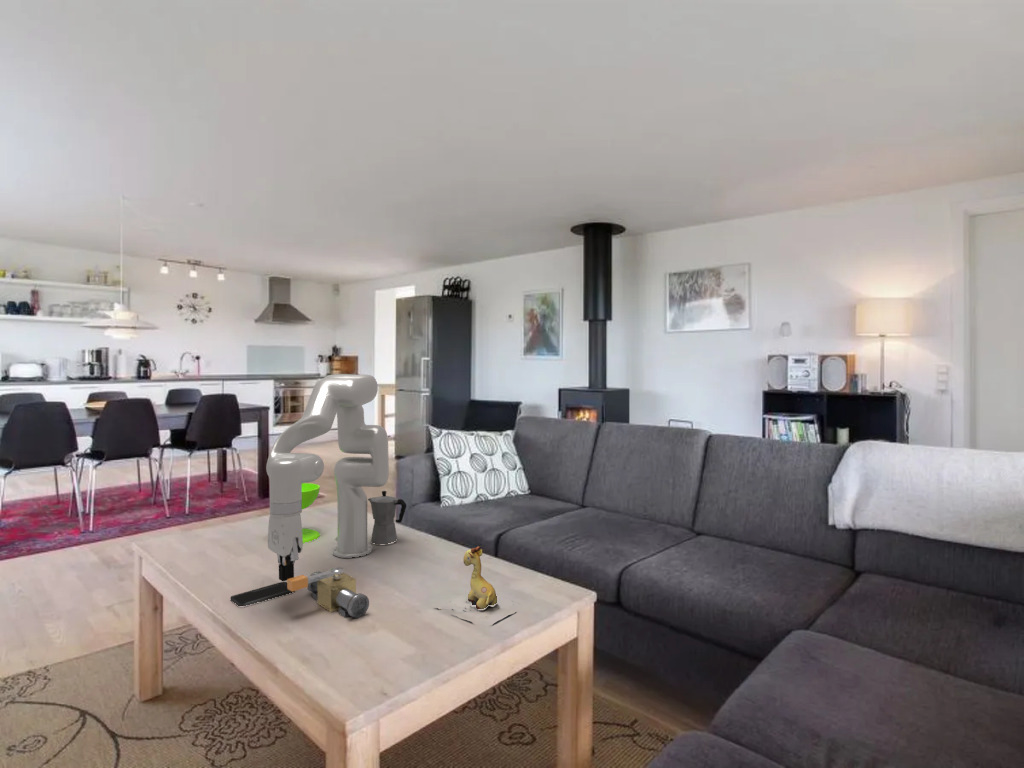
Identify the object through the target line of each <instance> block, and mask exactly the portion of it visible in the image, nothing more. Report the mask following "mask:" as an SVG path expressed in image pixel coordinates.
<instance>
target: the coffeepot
mask: <svg viewBox="0 0 1024 768" xmlns="http://www.w3.org/2000/svg"><path fill="white" fill-rule="evenodd" d="M387 493H388V492H387V491H386V490H383V491H381V494H382V495H380V496H375V497H373V496H372V497H369V498H367V501H369V503H370V505H371V506H370V507H371V513H372V519H373V521H374V524H373V526H372V527H373V528H372V534H371V539H370V543H371V542H372V543H375V544H388V543H391V542H394V541H396V539H397V540H398V534H397V530H396V529H397V528H396V523H398V524H400V523H402V522H403V519H404V515H405V512H406V509H407V503H406V502H405V501H404V499H401V498H400V499H399V498H397V497H395V496H392V495H391V496H390V495H387ZM397 505H399V506H401V507H400V513H399V514H398V519H395V517H396V511H397ZM395 522H396V523H395ZM372 543H371V544H372Z"/></svg>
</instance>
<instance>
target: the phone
mask: <svg viewBox="0 0 1024 768" xmlns="http://www.w3.org/2000/svg"><path fill="white" fill-rule="evenodd" d="M293 592H294V593H296V592H295V591H293ZM289 593H291V594H293V593H292V591H290V590H289V589H287V581H280V582H277V583H273V584H270V585H267V586H263V587H259V588H255V589H251V590H248V591H245V592H241V593H238V594H234V595H231V596H230V599H231V600H230V601H231V602H232V601H233V602H234V603H236V604H237V605H238V606H246V605H250V604H254V603H257V602H261V603H263V602H262V601H264V602H266V601H265V600H267V601H269V600H268V599H271V600H273V599H272V598H274V599H276V598H275V597H278V598H280V597H279V596H281V597H283V596H282V595H284V596H287V595H286V594H288V595H290V594H289ZM233 602H232V603H233ZM257 604H258V603H257ZM237 605H236V606H237ZM254 605H255V604H254ZM238 606H237V607H238Z"/></svg>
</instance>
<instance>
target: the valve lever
mask: <svg viewBox="0 0 1024 768" xmlns="http://www.w3.org/2000/svg"><path fill="white" fill-rule="evenodd" d="M343 573H344V568H343V567H340V566H337V567H331V568H330V569H329V570H327V571H323V573H319V574H316V575H312V576H310V575H308V576H306V575H304V574H300V575H296V576H294V577H293V578H289V579H287V580H286V582H287V589H289V590H290V591H292V592H293V591H296V592H297V591H299V590H303V589H306V588H307V587H308V583H311V582H315V581H318V580H322V579H325V578H329V577H332V576H340V575H342V574H343Z"/></svg>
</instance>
